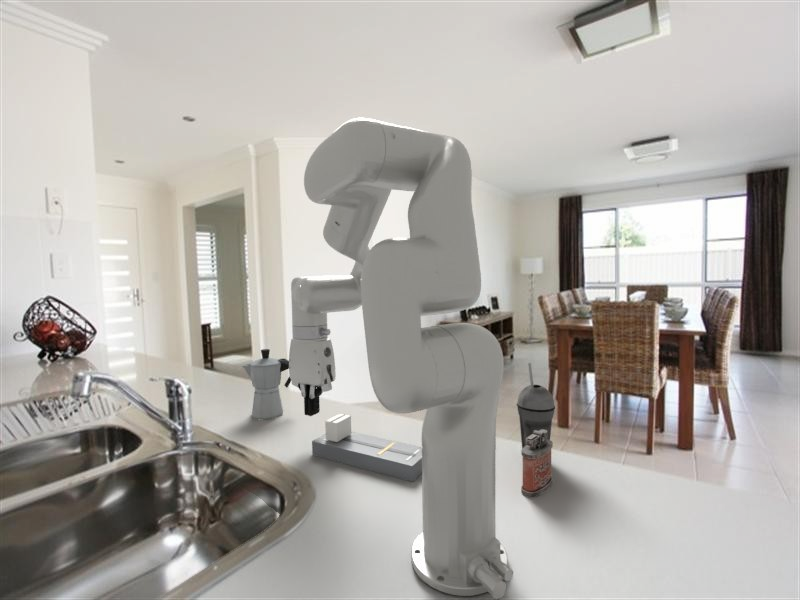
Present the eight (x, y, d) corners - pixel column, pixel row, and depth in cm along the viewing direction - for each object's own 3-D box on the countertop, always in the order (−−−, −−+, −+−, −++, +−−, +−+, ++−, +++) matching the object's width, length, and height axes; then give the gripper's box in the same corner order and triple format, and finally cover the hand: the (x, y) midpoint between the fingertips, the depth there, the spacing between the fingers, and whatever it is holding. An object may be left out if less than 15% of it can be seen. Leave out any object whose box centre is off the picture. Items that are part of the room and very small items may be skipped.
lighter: (538, 475, 76) (539, 423, 76) (556, 482, 74) (557, 428, 73) (516, 492, 71) (516, 436, 70) (535, 500, 68) (535, 441, 68)
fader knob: (351, 433, 90) (350, 415, 89) (337, 442, 85) (336, 422, 85) (340, 431, 91) (339, 413, 91) (325, 439, 87) (325, 420, 86)
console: (431, 463, 82) (431, 448, 82) (412, 481, 75) (412, 465, 75) (336, 441, 94) (335, 427, 94) (312, 454, 87) (311, 440, 87)
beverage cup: (557, 472, 78) (558, 368, 76) (517, 469, 79) (518, 367, 78) (551, 455, 85) (552, 359, 83) (515, 452, 86) (515, 358, 85)
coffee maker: (240, 422, 107) (237, 353, 106) (245, 411, 115) (242, 347, 114) (299, 416, 110) (297, 350, 109) (299, 406, 119) (297, 344, 118)
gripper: (347, 332, 90) (349, 414, 91) (296, 327, 97) (299, 403, 99) (325, 338, 83) (327, 425, 85) (272, 332, 90) (275, 413, 92)
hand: (312, 413), depth 92 cm, fingers closed
